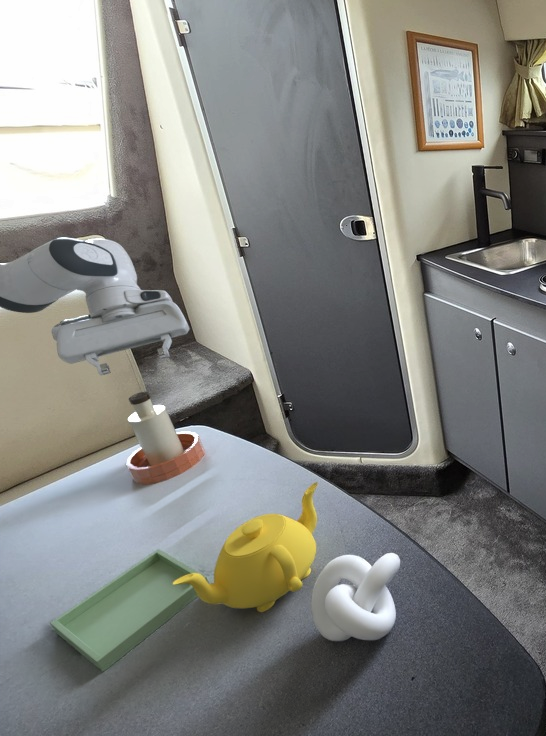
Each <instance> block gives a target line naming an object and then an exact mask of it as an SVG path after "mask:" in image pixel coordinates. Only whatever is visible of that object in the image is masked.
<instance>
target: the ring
mask: <svg viewBox="0 0 546 736" xmlns="http://www.w3.org/2000/svg"><path fill="white" fill-rule="evenodd" d="M176 433H177V435H178V437H179V440H180V442H181V444H182V446H183V449H184V451H185V452H183V453H182V454H180V455H178V456H177V457H175V458H173V459H171V460H168V461H166V462H163V463H161V464H157V465H153V466H150V465H149V463H148V461H147V459H146V457H145V455H144V453H143V451H142V449H141V446H140V447H139V448H137V449H136V450H134V451H132V453H131V454H130V455H129V456H128V458H127V459H126V462H125V466H126V468H127V470H128V472H129V475H130V476H131V478H132V480H133V481H134V483H136V484H140V485H152V484H158V483H161V482H165V481H168V480H170V479H173V478H175V477H177V476H180V475H182V474H183V473H185V472H187V471H188V470H190V469H192V468H193V467H194V466H195V465H196V464H198V463H199V462H200V461H201V460H202V458H203V457H204V455H205V447H204V444H203V443H202V440H201V438H200V435H199V434H197V432H194V431H178V432H177V431H176Z"/></svg>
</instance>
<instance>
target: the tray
mask: <svg viewBox="0 0 546 736" xmlns="http://www.w3.org/2000/svg"><path fill="white" fill-rule="evenodd" d="M191 573H199V574H201V575H202V576H203V577H204V578H205V579H206V581H207V582H208V583H209V584H210V581H209V579H208V577H207V576H206V575H204V574H203V573H201V572H199V571H197V570H195V569H194V568H192V567H190V566H189V565H188V564H186V563H184V562H182V561H180V560H179V559H177V558H175V557H174V556H172V555H171V554H168V553H166V552H165V551H163V550H162V549H160V548H157V549H156V550H153V552H151V553H150V554H148V556H146V557H144V558H142V559H141V560H139V561H138V562H137V563H135V564H134V565H133V566H131V567H130V568H128V569H127V570H125V571H124V572H122V573H121V574H119V575H117V576H116V577H115V578H113V579H112V580H110V581H109V582H108V583H106V584H105V585H103V586H102V587H100V588H99V589H97V590H96V591H95V592H93V593H92V594H90V595H89V596H87V597H86V598H84V599H82V600H81V601H80V602H78V603H77V604H75V605H74V606H72V607H71V608H70V609H68V610H67V611H65V612H64V613H62V614H61V615H59V616H57V618H55V619H54V620H52V621H51V622H50V623H49V624H50V627H52V629H53V630H54V632H55V634H57V635H58V636H59V637H61V638H62V639H63V640H64V641H65V642H66V643H68V644H69V645H70V646H72V647H73V648H74V649H75V650H76V651H77V652H79V654H81V655H82V656H83V657H84V658H86V659H87V660H88V661H90V662H91V663H92V664H93V665H94V666H95V667H96V668H98V669H99V670H100V671H101V672H102V673H104V672H105V671H107V670H108V669H109V668H110V667H112V666H113V665H114V664H116V663H117V662H119V660H120V659H122V658H123V657H125V655H127V654H128V653H129V652H130V651H132V650H133V649H134V648H135V647H137V646H138V645H139V644H140V643H142V642H144V640H146V639H147V638H148V637H150V636H151V635H152V634H153V633H155V632H156V630H158V629H160V628H161V627H162V626H163V625H164V624H166V623H167V622H168V621H169V620H170V619H171V618H173V617H175V615H176V614H178V613H179V612H181V611H182V610H183V609H184V608H186V607H187V606H188V605H190V603H192V602H193V601H194V600H196V599H197V598H199V596H198V595H197V593H196V591H195V589H194V588H193V587H192V586H191V585H190V584H186V583H185V584H177V585H174V584H173V582H174V581H176V580H177V579H179V578H180V577H183V576H185V575H187V574H191Z"/></svg>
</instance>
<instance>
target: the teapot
mask: <svg viewBox="0 0 546 736" xmlns="http://www.w3.org/2000/svg"><path fill="white" fill-rule="evenodd" d="M318 485H319V483H318V482H317V481H316V482H313V483H312V484H311V485H310V486H309V487H308V488H307V489H306V490H305V492H304V493H303V495H302V498H301V507H302V512H301V514H300V516H299V518H298V519H297V520H296V519H294V518H292V517H289V516H287V515H283V514H278V513H266V514H262V515H258V516H256V517H253V518H251V519H249V520H247V521H245V522H244V523H242V524H241V525H239V526H238V527H237V528H235V529H234V530H233V531H232V532H231V533H230V534H229V535H228V537H227V538H226V539H225V541H224V543H223V545H222V547H221V550H220V552H219V555H218V557H217V560H216V562H215V566H214V570H213V571H214V572H213V582H211V583H210V582H209V583H208V582H207V581H206V579H205V578H204V577H203V576H202V575H203V574H202V573H201V574H202V575H201V574H199V573H200V572H199V573H191V574H187V575H185V576H183V577H180V578H179V579H177V580H176V581H174V582H173V584H174V585H177V584H185V583H186V584H190V585H191V586H192V587H193V588H194V589H195V591H196V593H197V595H198V598H199V599H200V600H201V601H203V603H206V604H209V605H221V604H223V605H224V606H227V607H229V608H232V609H251V608H256V610H257V612H260V613H264V612H265V611H269V610H270V609H271V608H272V607H273V606H274V605H275V603H276V601H277V600H278V599H279V598H281V597H283V596H284V595H286V594H287V593H288V592H291V593H292V592H293V593H295V592H298V591H299V590H301V589H302V588H303V580H304V579H306V578H307V577H308V576H310V574H311V572H312V569H311V566H312V564H313V563H314V560H315V558H316V555H317V554H316V553H317V542H316V539H315V538H314V535H313V534H314V532H315V529H316V527H317V525H318V515H317V511H316V508H315V505H314V499H313V498H314V497H313V496H314V493H315V491H316V489H317V487H318Z"/></svg>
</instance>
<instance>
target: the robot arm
mask: <svg viewBox="0 0 546 736" xmlns="http://www.w3.org/2000/svg"><path fill="white" fill-rule="evenodd" d="M75 291H81V292H83V293H85V302H86V306H87V310H88V313H89V314H86V315H82V316H77V317H75V318H70V319H63V320H60V321H59V323H57V324H55V325H54V326H53V327H52V328H51V334H52V335H51V336H52V338H53V340H54V341H55V342H56V351H57V352H56V353H57V356H58V358H59V359H60V360H61V361H62V362H65V363H67V364H69V365H73V364H77V363H81V362H84V361H87V362H88V363H89V364H90V365H92V366H93V367H95V368H96V370H97V373H98V374H99V376H101V377H102V376H105V375H109V374H111V370H110V369H111V368H110V366H109V365H108V363H107V362H103V363H99V362H100V359H99V358H100V357H103V356H104V357H105V356H107V355H111V354H115V353H119V352H122V351H126V350H129V349H130V350H131V349H134V348H138V347H143V346H146V345H149V344H154V343H157V342H158V343H159V342H161V341H162V343H163V344H162V346H161V347H159V348H156V351H157V353H158V357H159V358H160V359H161V360H162V359H166V358H169V357H171V355H170V353H169V350H170V348H171V345H172V343H173V339H172V338H176V337H177V338H178V337H180V336H184V335H187V334H188V333H189V332H190V330H191V329H190V326H189V323H188V321H187V319H186V317H185V316H184V313H183V312H182V310H181V308H180V307H179V306H178V305H177V304H176V303H175V302H174V301H173V299H172V297H171V295H170V294H169V293H168V292H167V291H166V290H164V289H163V290H162V289H153V290H152V289H151V290H150V289H141V287H140V286H139V285H138V275H137V272H136V269H135V266H134V263H133V261H132V258H131V256H130V255H129V254H128V252H127V251H126V249H125V248H124V247H123V246H122V245H121V244H119V243H118V242H117V241H114V240H111V239H106V238H91V239H87V240H81V239H77V238H72V237H57V238H55V239H51V240H49V241H48V242H45V243H43V244H41V245H40V246H38V247H36V248H34V249H31V251H29V252H27V253H26V254H23V255H21V256H20V257H18V258H16V259H15V260H12V261H10V262H3V263H0V308H2V309H4V310H7V311H10V312H14V313H21V314H22V313H23V314H34V313H38V312H42V311H43V310H45V309H47V308H48V307H50V306H51V305H52V304H54V303H55V302H57V301H59V300H60V299H61V298H63V297H65V296H68V295H69V294H71V293H72V292H75Z"/></svg>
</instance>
